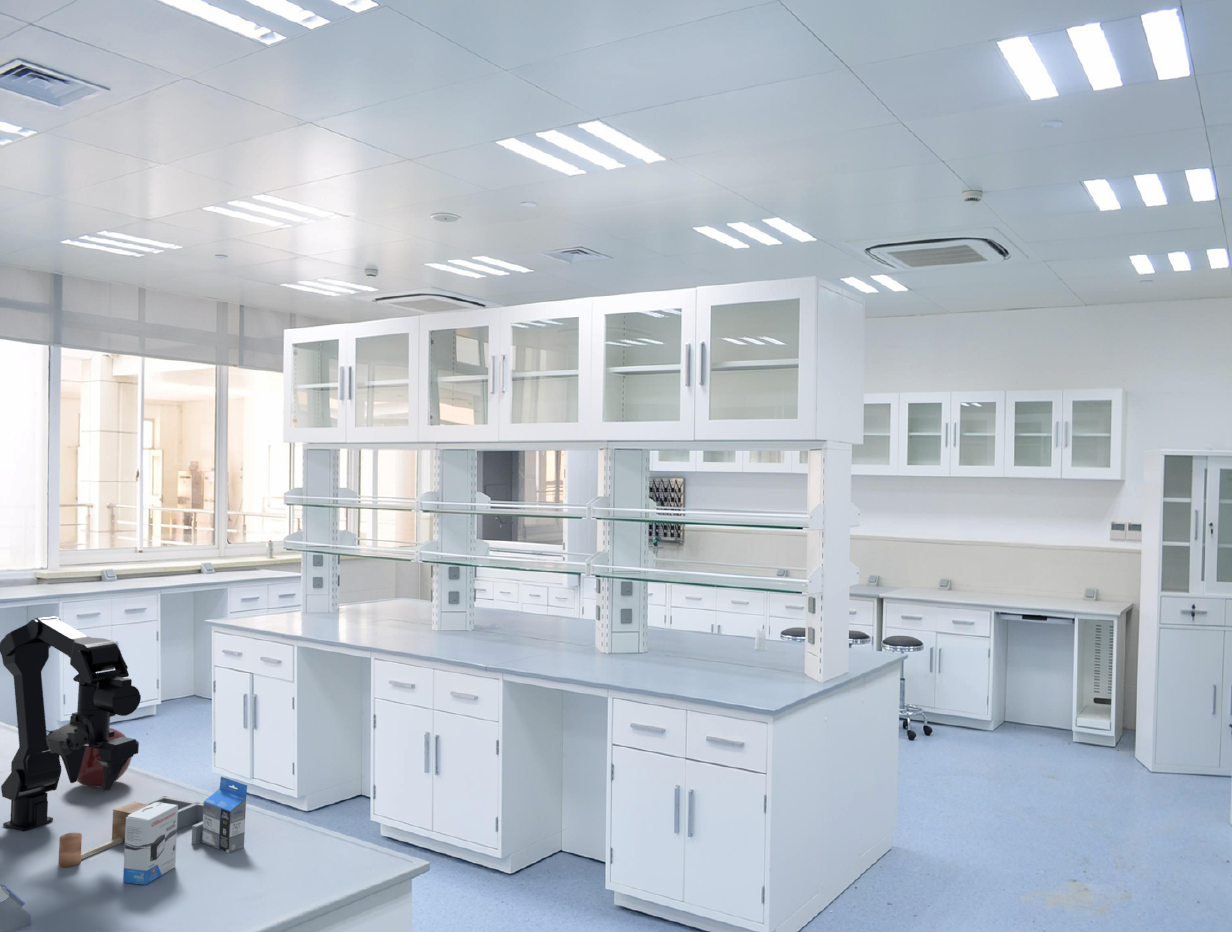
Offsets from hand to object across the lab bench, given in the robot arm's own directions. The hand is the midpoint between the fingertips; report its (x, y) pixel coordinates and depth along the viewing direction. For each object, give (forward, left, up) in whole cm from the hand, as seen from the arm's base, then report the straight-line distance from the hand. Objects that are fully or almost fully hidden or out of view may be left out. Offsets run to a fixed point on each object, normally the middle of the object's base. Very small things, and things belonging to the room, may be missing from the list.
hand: (89, 786), depth 183 cm
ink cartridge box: (+23, +11, -12) cm, 28 cm away
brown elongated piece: (+4, 0, -12) cm, 12 cm away
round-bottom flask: (-27, +26, -12) cm, 40 cm away
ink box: (+21, -5, -12) cm, 24 cm away
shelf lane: (+8, +15, -12) cm, 20 cm away
